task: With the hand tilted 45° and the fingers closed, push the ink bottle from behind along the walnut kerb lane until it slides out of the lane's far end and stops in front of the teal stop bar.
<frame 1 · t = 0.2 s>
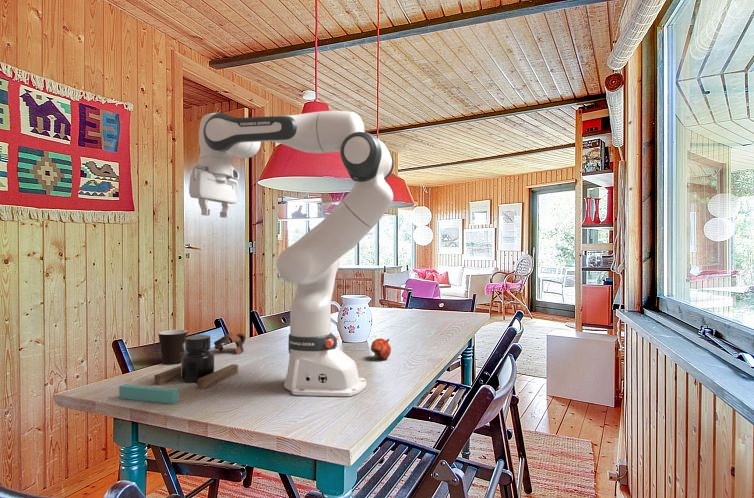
hand: (215, 216, 133), 47 cm above the table, tool pointing down, fingers open, 8 cm apart
coffee mug: (175, 361, 151), on the table
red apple: (380, 359, 153), on the table
stop bar: (148, 399, 113), on the table
lane: (197, 378, 131), on the table
ink bottle: (197, 379, 131), on the table
brown animal figurine: (231, 352, 164), on the table
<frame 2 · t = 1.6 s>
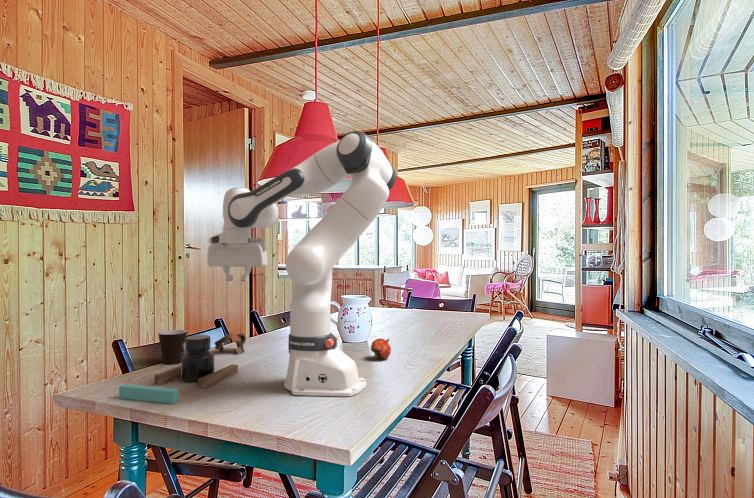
hand: (237, 280, 147), 27 cm above the table, tool pointing down, fingers open, 4 cm apart
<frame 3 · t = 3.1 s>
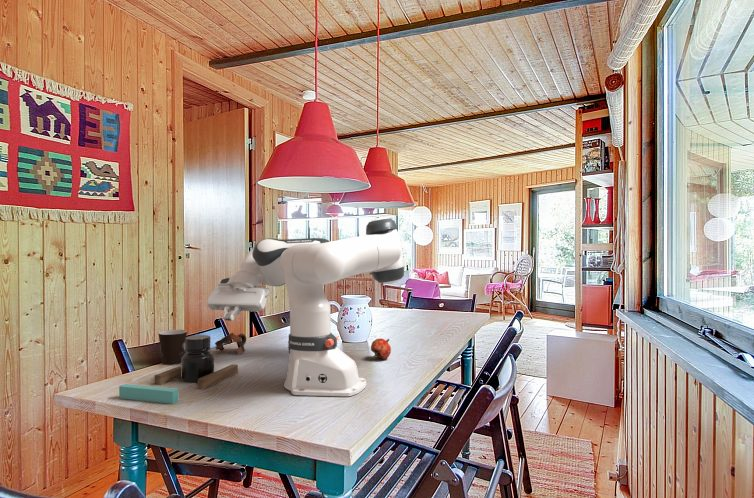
hand: (227, 319, 145), 15 cm above the table, tool tilted 45°, fingers closed
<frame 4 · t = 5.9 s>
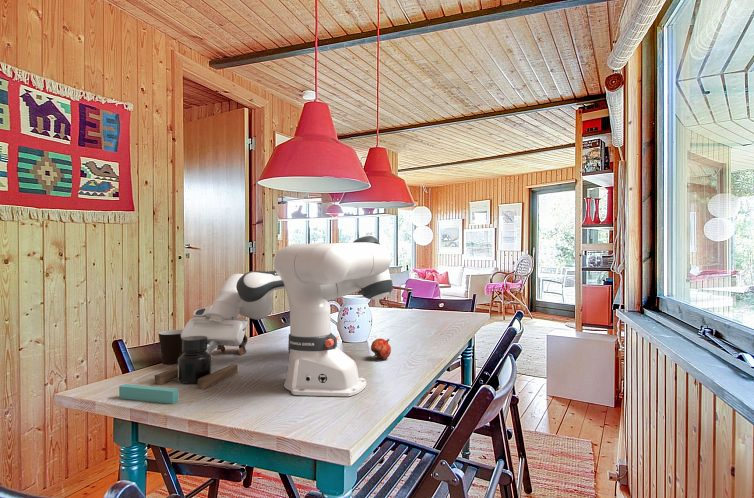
hand: (202, 355, 134), 6 cm above the table, tool tilted 45°, fingers closed
ink bottle: (194, 380, 130), on the table, touching gripper
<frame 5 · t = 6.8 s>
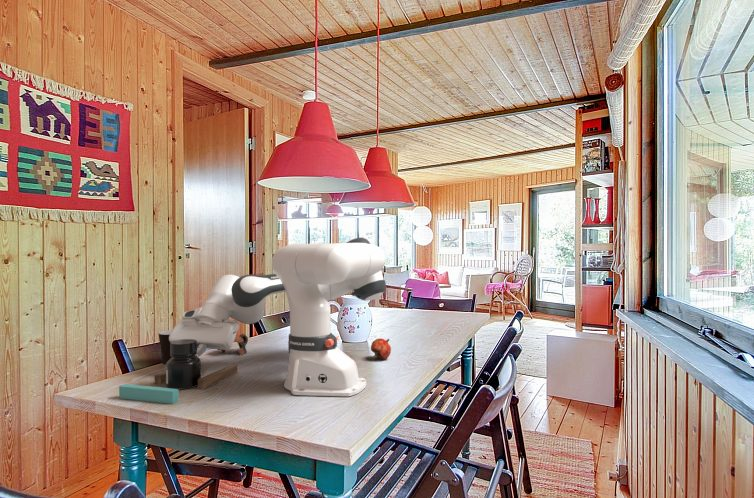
hand: (190, 359, 129), 6 cm above the table, tool tilted 45°, fingers closed, pressing on ink bottle
ink bottle: (183, 385, 124), on the table, touching gripper
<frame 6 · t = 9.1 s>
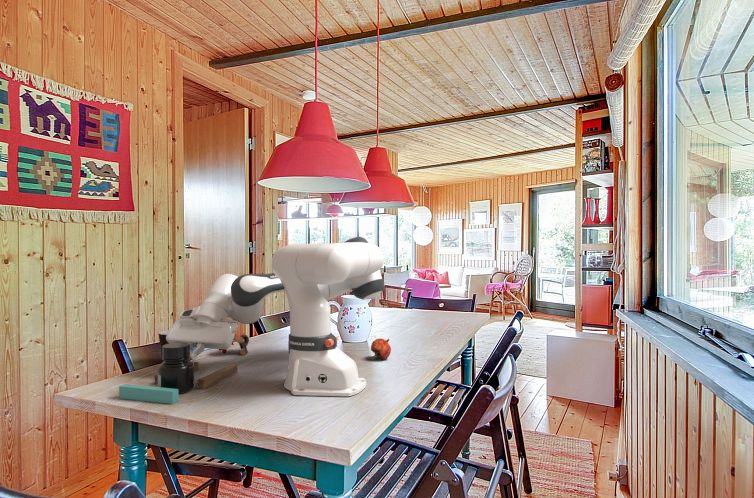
hand: (188, 359, 127), 6 cm above the table, tool tilted 45°, fingers closed
ink bottle: (176, 390, 120), on the table
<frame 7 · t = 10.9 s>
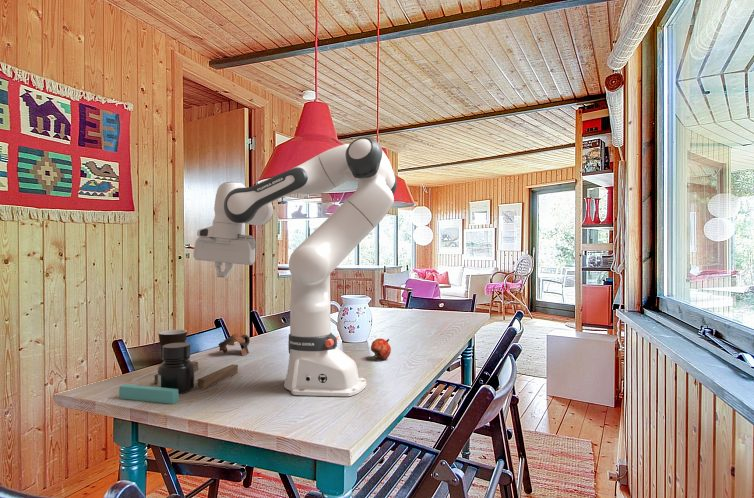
hand: (222, 277, 142), 29 cm above the table, tool pointing down, fingers closed
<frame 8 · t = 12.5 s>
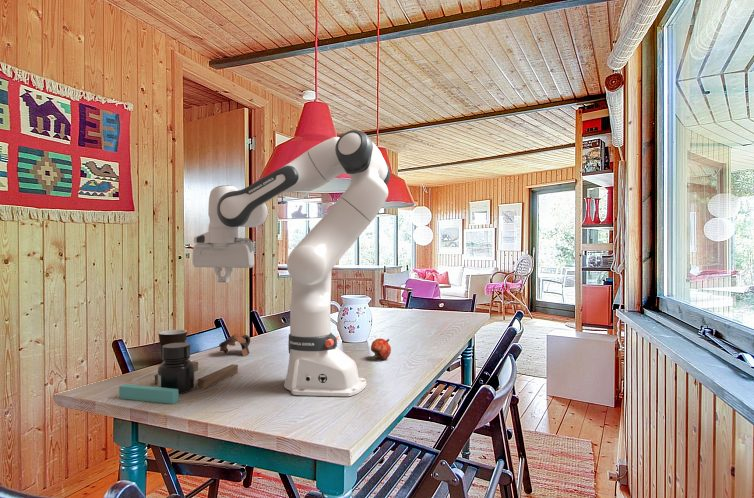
hand: (223, 282, 141), 27 cm above the table, tool pointing down, fingers closed
at the end: ink bottle inside the target area (2.7 cm from its centre), on the table; ink bottle tilted 0°; ink bottle moved 10.8 cm from its start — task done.
